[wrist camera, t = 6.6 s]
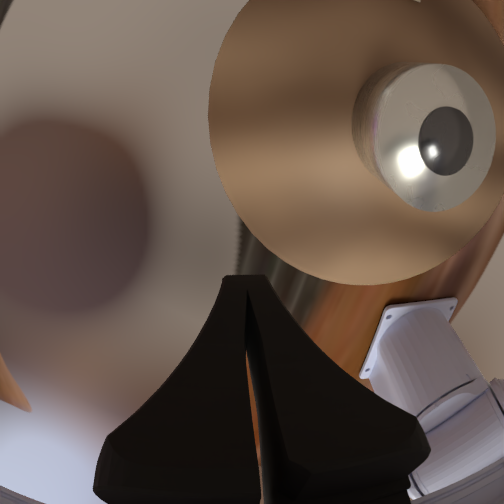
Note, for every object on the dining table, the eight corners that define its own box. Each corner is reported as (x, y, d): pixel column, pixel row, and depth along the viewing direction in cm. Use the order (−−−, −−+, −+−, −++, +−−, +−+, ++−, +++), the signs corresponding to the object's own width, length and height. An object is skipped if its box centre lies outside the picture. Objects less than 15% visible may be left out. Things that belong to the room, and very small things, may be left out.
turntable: (471, 267, 21) (480, 276, 20) (216, 281, 20) (215, 293, 19) (515, 20, 11) (527, 21, 10) (212, -63, 9) (211, -73, 8)
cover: (449, 189, 16) (483, 213, 13) (346, 186, 16) (372, 214, 13) (463, 76, 12) (504, 84, 10) (353, 51, 12) (386, 48, 9)
